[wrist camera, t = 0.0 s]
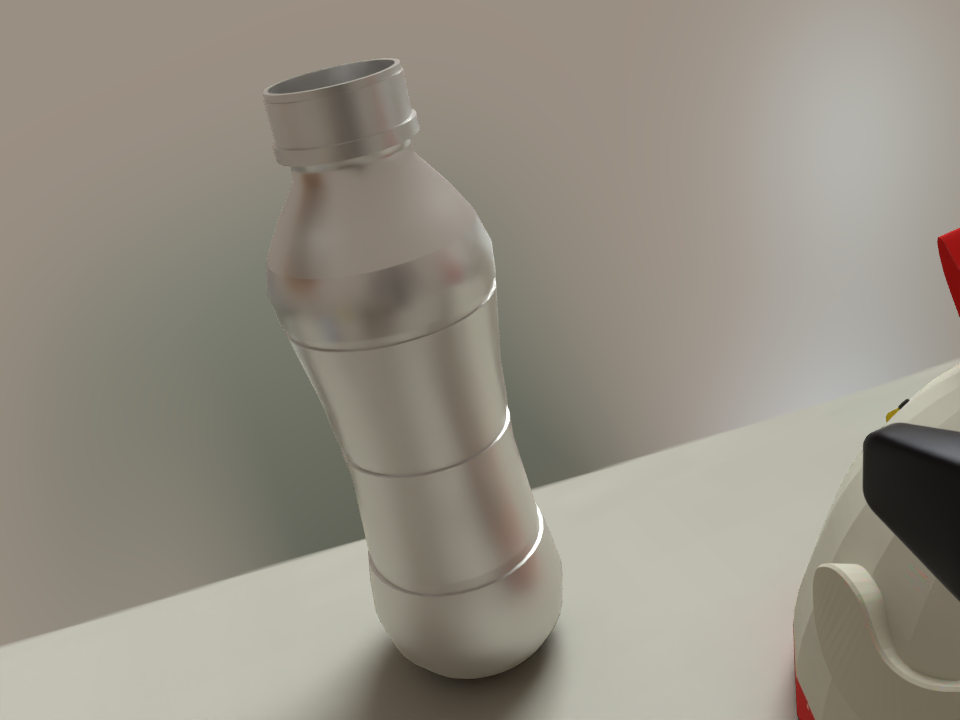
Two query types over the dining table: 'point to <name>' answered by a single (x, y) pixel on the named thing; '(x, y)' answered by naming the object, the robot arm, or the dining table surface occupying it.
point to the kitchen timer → (880, 593)
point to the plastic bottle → (409, 371)
